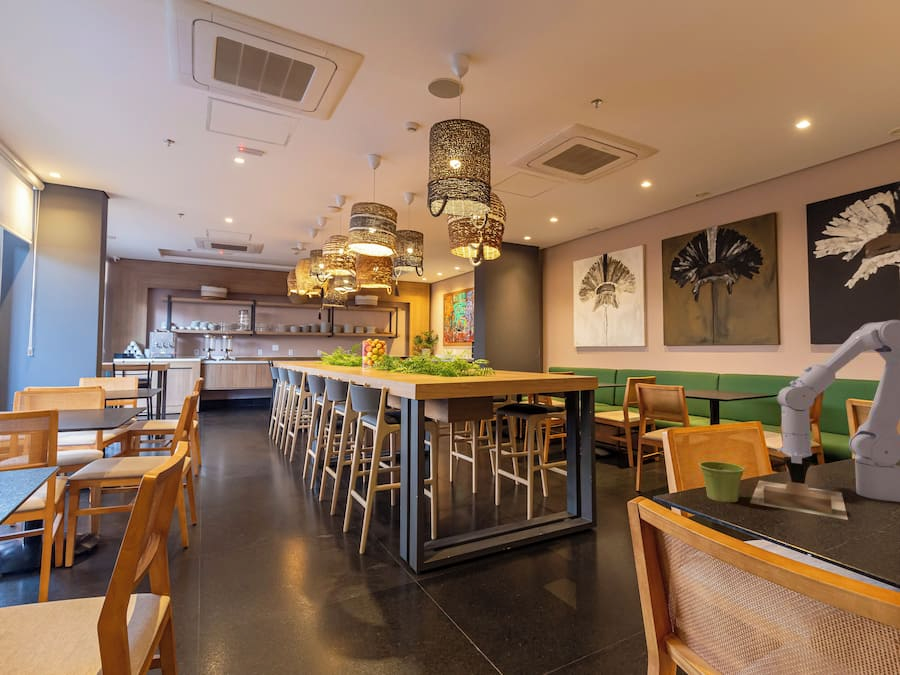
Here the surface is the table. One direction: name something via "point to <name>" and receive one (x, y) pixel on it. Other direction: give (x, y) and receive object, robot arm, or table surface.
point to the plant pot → (722, 480)
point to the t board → (836, 503)
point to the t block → (798, 498)
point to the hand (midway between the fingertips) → (798, 486)
